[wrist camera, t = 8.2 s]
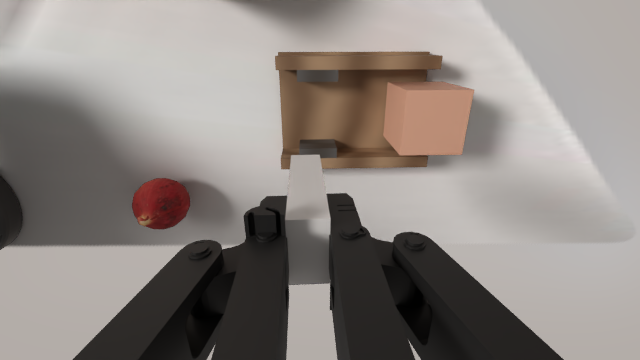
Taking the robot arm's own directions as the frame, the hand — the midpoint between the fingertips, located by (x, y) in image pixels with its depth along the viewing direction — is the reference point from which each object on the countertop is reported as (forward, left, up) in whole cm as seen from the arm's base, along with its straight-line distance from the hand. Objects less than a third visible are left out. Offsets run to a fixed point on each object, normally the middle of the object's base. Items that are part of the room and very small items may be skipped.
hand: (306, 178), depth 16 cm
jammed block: (+12, 0, -19) cm, 23 cm away
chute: (+5, 0, -21) cm, 21 cm away
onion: (-17, -10, -21) cm, 29 cm away
